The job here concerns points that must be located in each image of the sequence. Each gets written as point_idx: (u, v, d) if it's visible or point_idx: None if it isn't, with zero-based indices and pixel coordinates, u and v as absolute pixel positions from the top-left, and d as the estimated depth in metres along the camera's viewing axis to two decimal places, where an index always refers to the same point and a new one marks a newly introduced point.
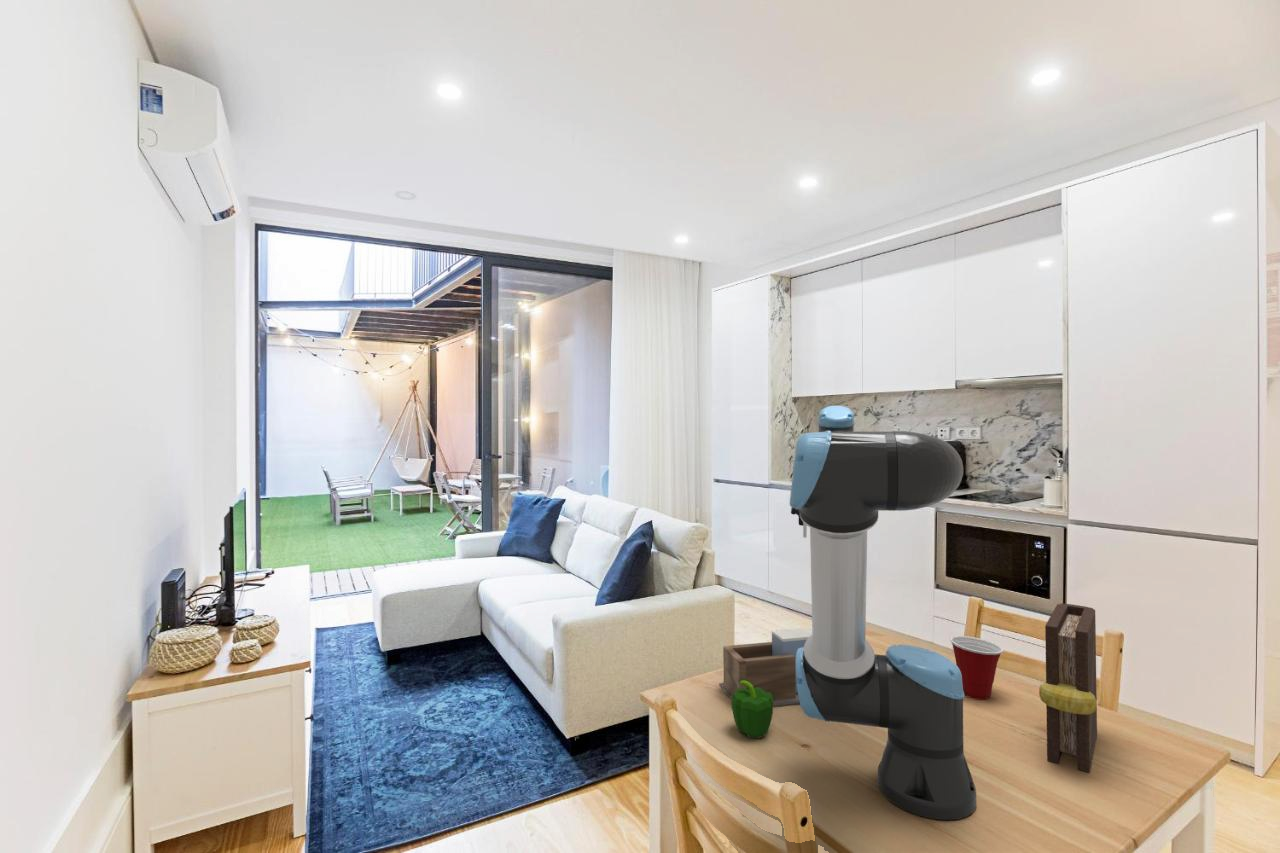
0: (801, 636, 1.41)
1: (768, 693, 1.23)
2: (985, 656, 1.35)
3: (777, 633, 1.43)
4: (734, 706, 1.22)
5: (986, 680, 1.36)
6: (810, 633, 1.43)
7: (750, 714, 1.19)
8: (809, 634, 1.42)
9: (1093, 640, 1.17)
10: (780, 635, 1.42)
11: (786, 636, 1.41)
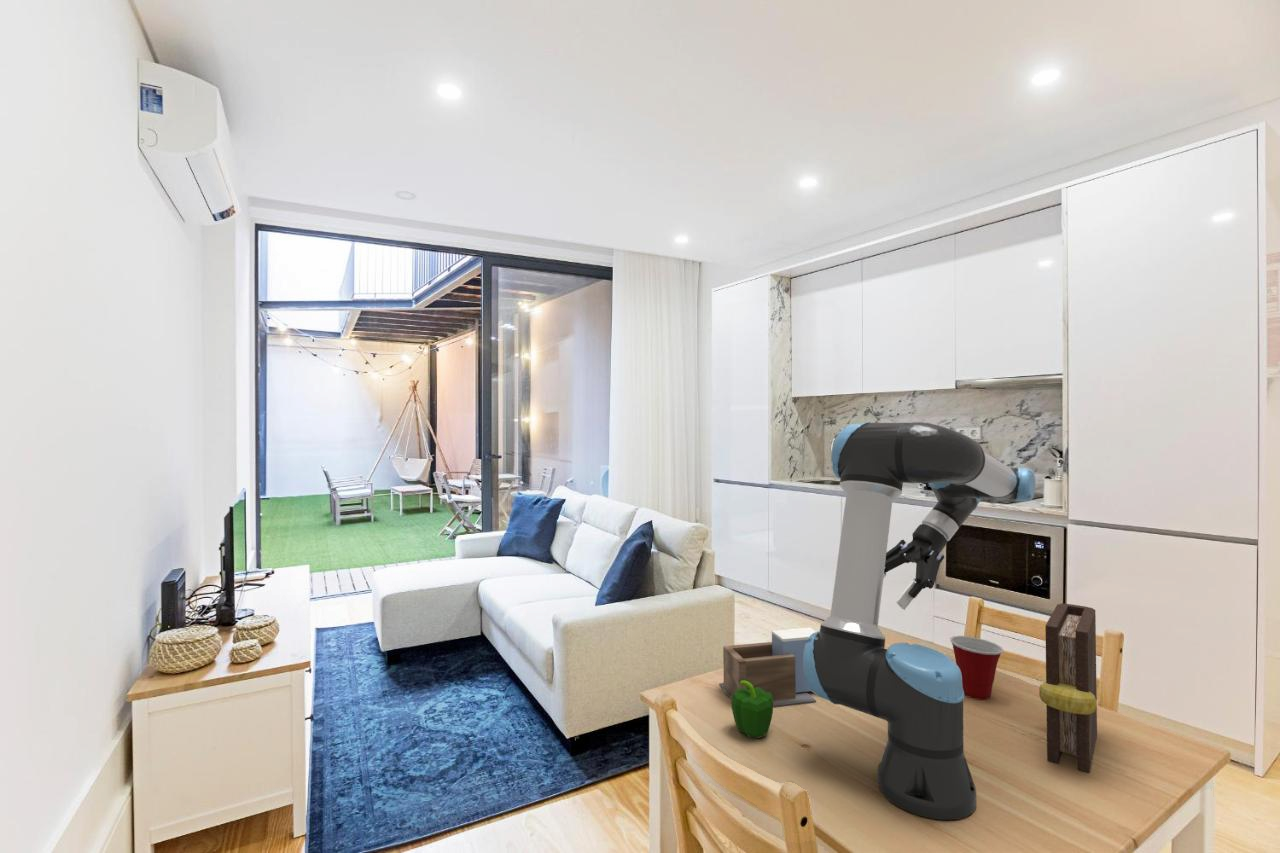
0: (801, 636, 1.41)
1: (768, 693, 1.23)
2: (985, 656, 1.35)
3: (777, 633, 1.43)
4: (734, 706, 1.22)
5: (986, 680, 1.36)
6: (810, 633, 1.43)
7: (750, 714, 1.19)
8: (809, 634, 1.42)
9: (1093, 640, 1.17)
10: (780, 635, 1.42)
11: (786, 636, 1.41)
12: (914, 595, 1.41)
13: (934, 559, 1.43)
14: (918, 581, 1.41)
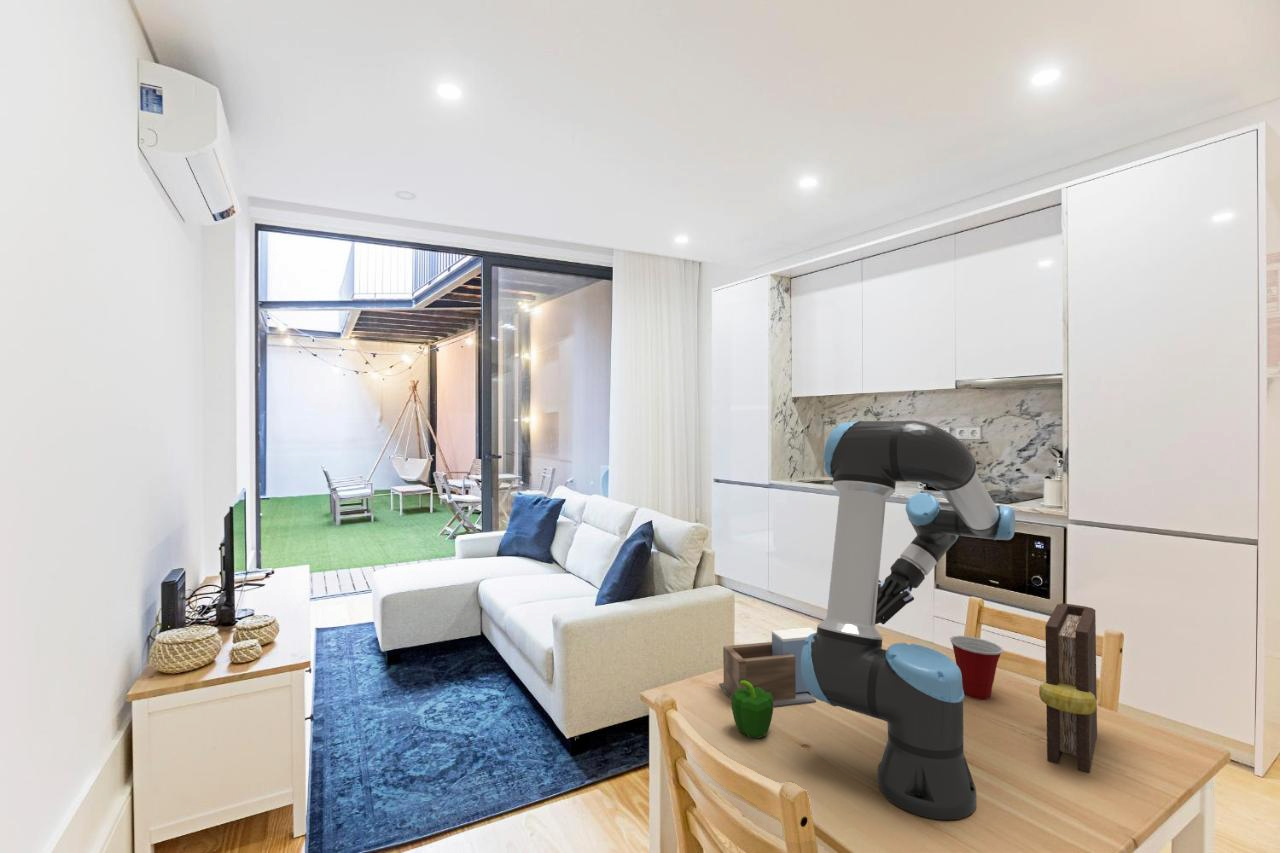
0: (801, 636, 1.41)
1: (768, 693, 1.23)
2: (985, 656, 1.35)
3: (777, 633, 1.43)
4: (734, 706, 1.22)
5: (986, 680, 1.36)
6: (810, 633, 1.43)
7: (750, 714, 1.19)
8: (809, 634, 1.42)
9: (1093, 640, 1.17)
10: (780, 635, 1.42)
11: (786, 636, 1.41)
12: None
13: (899, 600, 1.44)
14: None
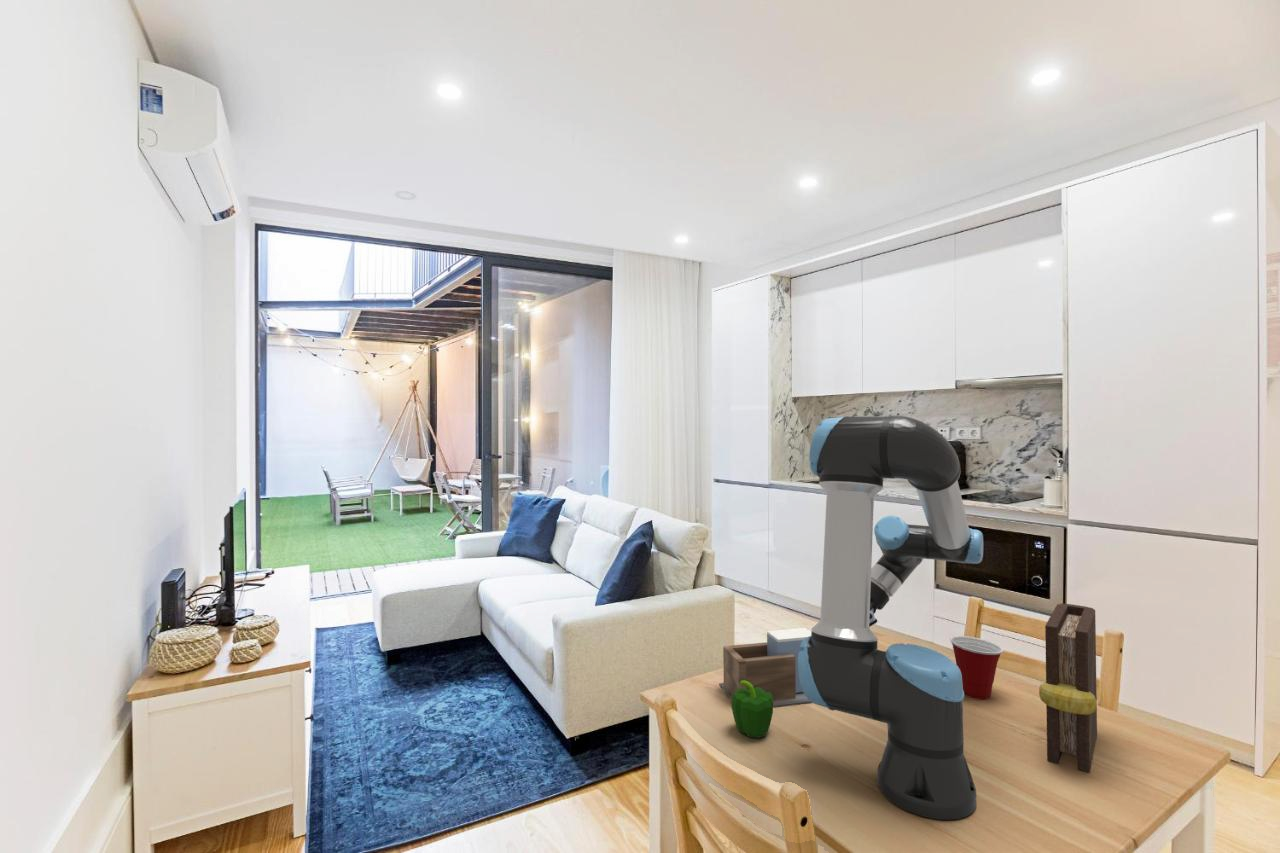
0: (796, 636, 1.40)
1: (768, 693, 1.23)
2: (985, 656, 1.35)
3: (772, 633, 1.43)
4: (734, 706, 1.22)
5: (986, 680, 1.36)
6: (805, 633, 1.42)
7: (750, 714, 1.19)
8: (804, 634, 1.42)
9: (1093, 640, 1.17)
10: (775, 635, 1.41)
11: (781, 636, 1.40)
12: None
13: None
14: None
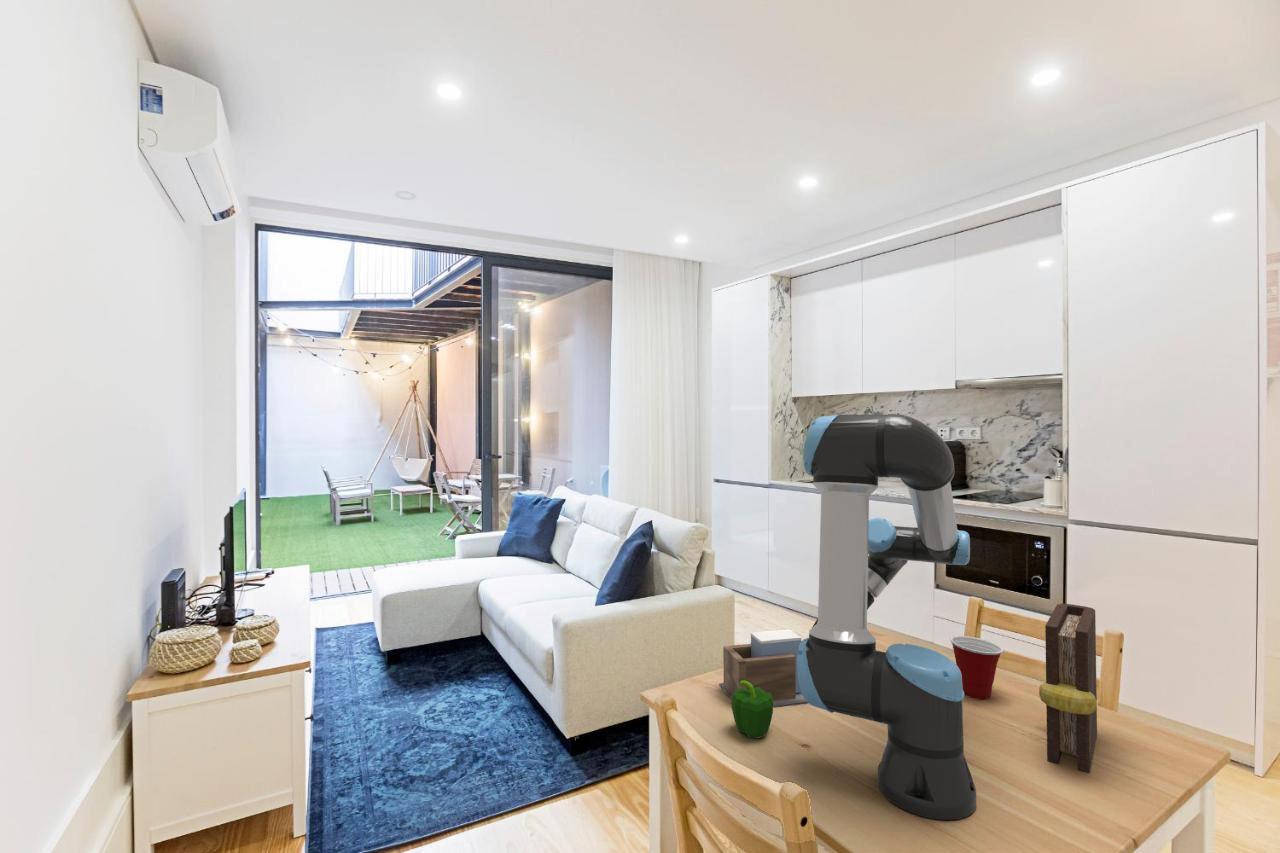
0: (780, 638, 1.39)
1: (768, 693, 1.23)
2: (985, 656, 1.35)
3: (756, 635, 1.42)
4: (734, 706, 1.22)
5: (986, 680, 1.36)
6: (789, 635, 1.42)
7: (750, 714, 1.19)
8: (788, 636, 1.41)
9: (1093, 640, 1.17)
10: (758, 637, 1.40)
11: (764, 638, 1.40)
12: None
13: None
14: None
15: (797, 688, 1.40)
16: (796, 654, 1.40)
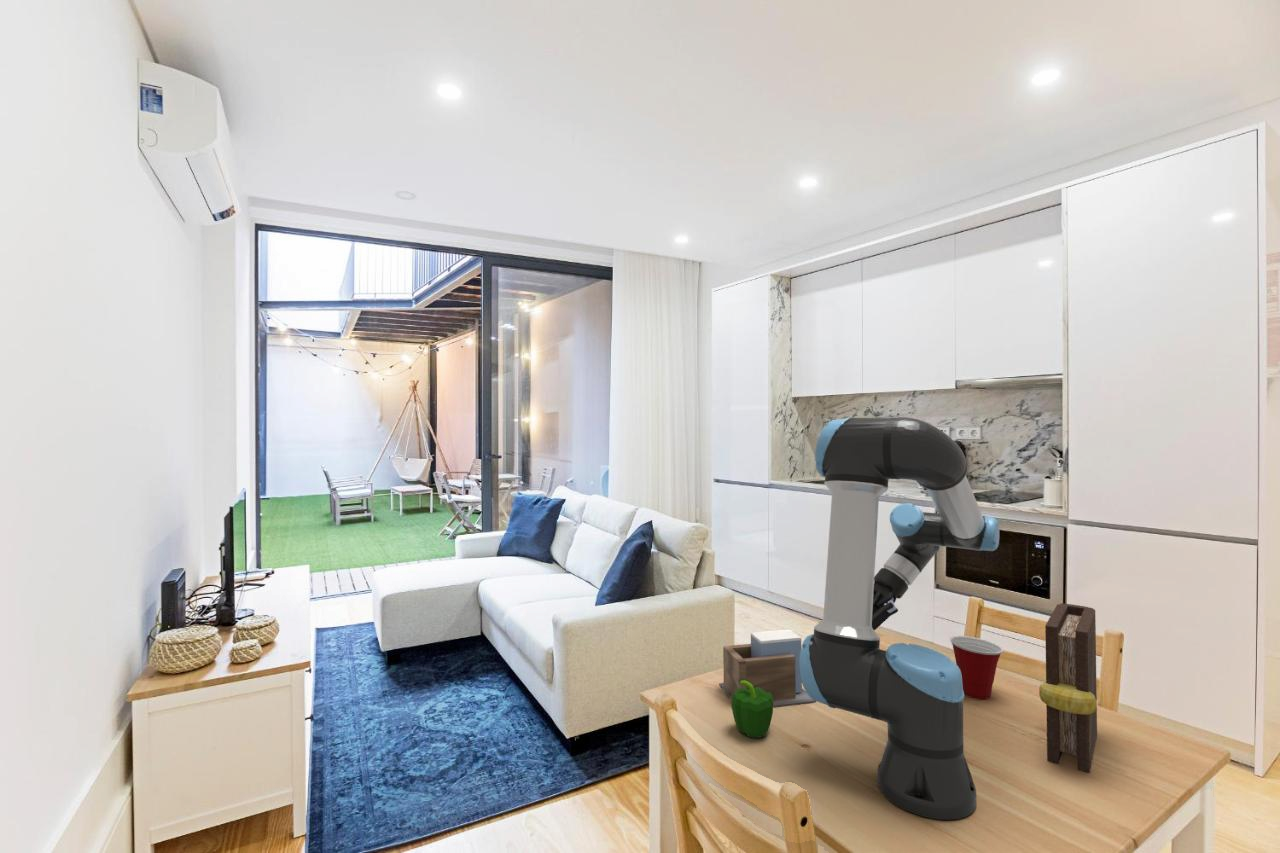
0: (779, 638, 1.39)
1: (768, 693, 1.23)
2: (985, 656, 1.35)
3: (756, 635, 1.42)
4: (734, 706, 1.22)
5: (986, 680, 1.36)
6: (789, 635, 1.42)
7: (750, 714, 1.19)
8: (788, 636, 1.41)
9: (1093, 640, 1.17)
10: (758, 637, 1.40)
11: (764, 638, 1.40)
12: None
13: (883, 612, 1.42)
14: None
15: (797, 688, 1.40)
16: (796, 654, 1.40)
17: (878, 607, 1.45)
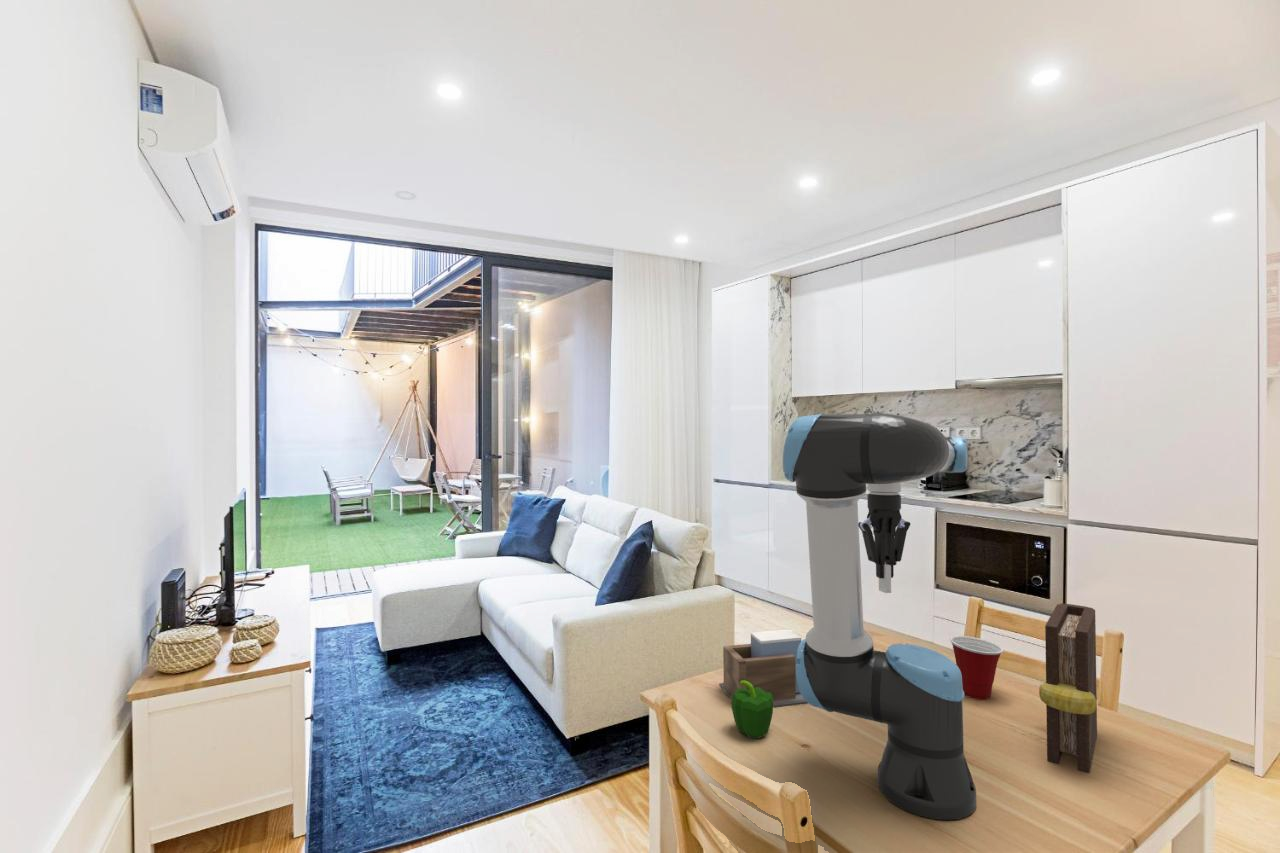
0: (779, 638, 1.39)
1: (768, 693, 1.23)
2: (985, 656, 1.35)
3: (756, 635, 1.42)
4: (734, 706, 1.22)
5: (986, 680, 1.36)
6: (789, 635, 1.42)
7: (750, 714, 1.19)
8: (788, 636, 1.41)
9: (1093, 640, 1.17)
10: (758, 637, 1.40)
11: (764, 638, 1.40)
12: None
13: None
14: None
15: (797, 688, 1.40)
16: (796, 654, 1.40)
17: None
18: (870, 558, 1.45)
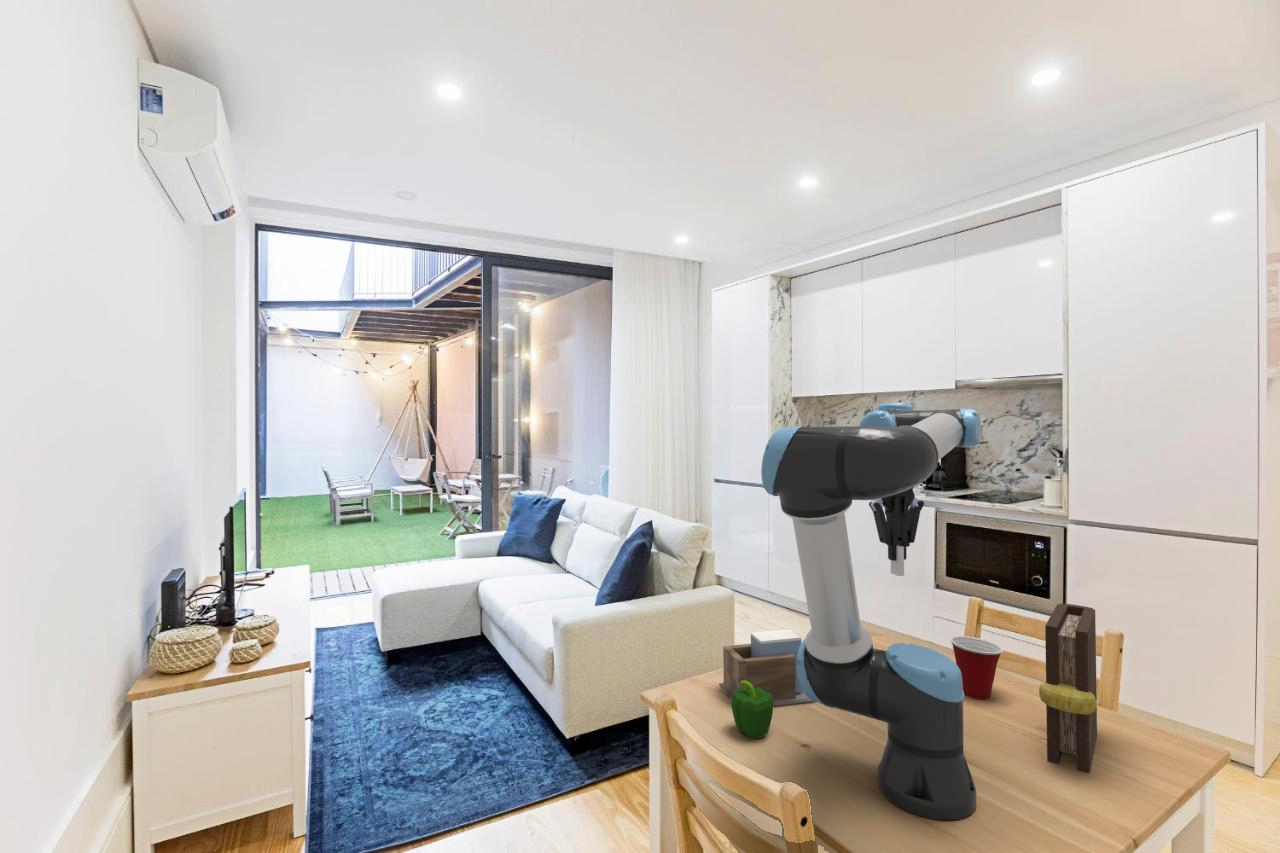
0: (779, 638, 1.39)
1: (768, 693, 1.23)
2: (985, 656, 1.35)
3: (756, 635, 1.42)
4: (734, 706, 1.22)
5: (986, 680, 1.36)
6: (789, 635, 1.42)
7: (750, 714, 1.19)
8: (788, 636, 1.41)
9: (1093, 640, 1.17)
10: (758, 637, 1.40)
11: (764, 638, 1.40)
12: None
13: None
14: None
15: (797, 688, 1.40)
16: (796, 654, 1.40)
17: None
18: (882, 539, 1.37)
